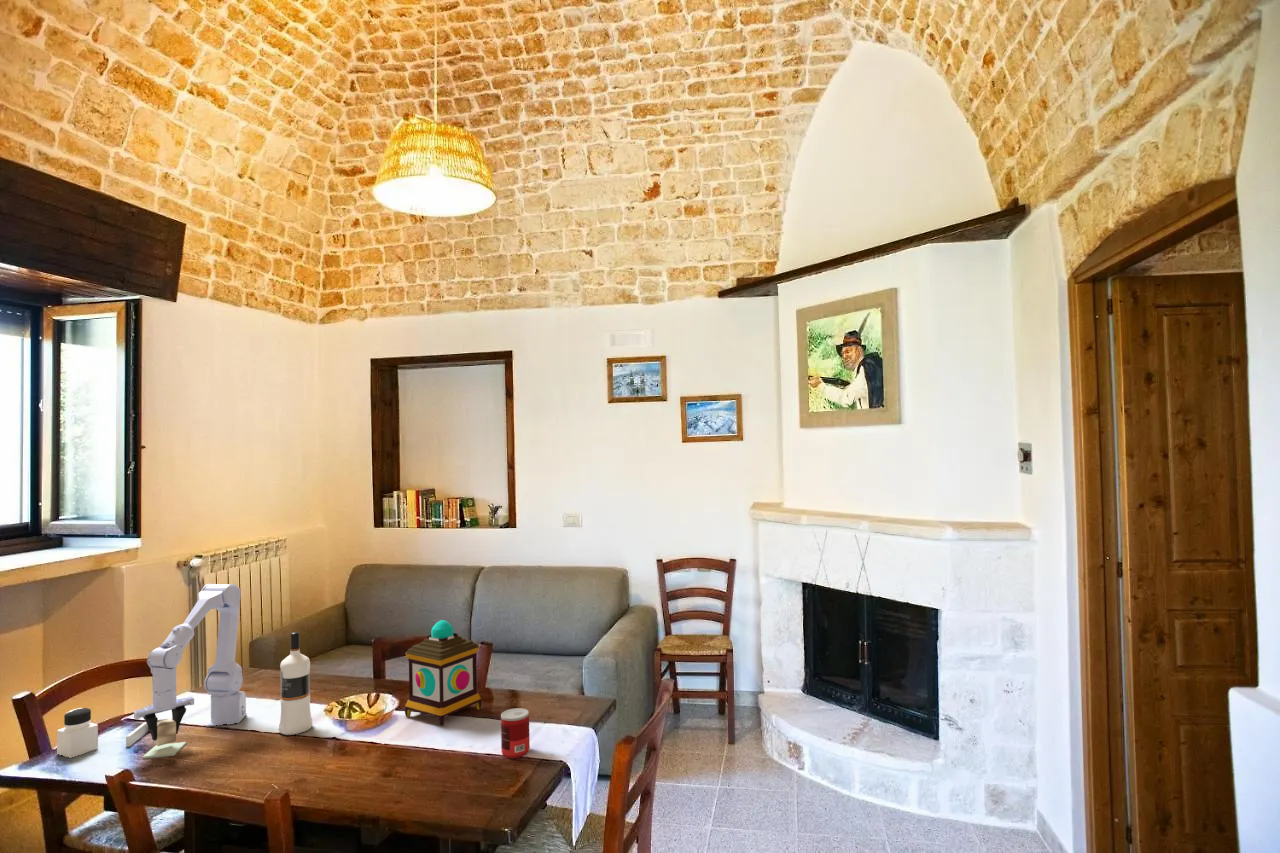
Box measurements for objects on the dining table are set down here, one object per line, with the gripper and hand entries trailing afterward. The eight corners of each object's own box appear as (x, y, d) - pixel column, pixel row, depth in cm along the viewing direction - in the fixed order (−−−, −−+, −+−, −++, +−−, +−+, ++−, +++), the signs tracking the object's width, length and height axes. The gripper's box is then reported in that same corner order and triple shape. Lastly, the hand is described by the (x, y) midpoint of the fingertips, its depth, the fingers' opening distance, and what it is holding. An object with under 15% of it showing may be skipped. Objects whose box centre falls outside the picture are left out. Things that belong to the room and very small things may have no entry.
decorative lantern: (488, 708, 230) (486, 616, 230) (441, 730, 213) (439, 631, 214) (445, 698, 240) (444, 610, 241) (398, 717, 224) (396, 623, 224)
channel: (178, 727, 220) (177, 718, 220) (160, 743, 208) (160, 733, 208) (145, 730, 218) (145, 721, 218) (126, 746, 206) (126, 736, 206)
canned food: (534, 748, 198) (533, 709, 199) (520, 760, 191) (520, 720, 191) (510, 745, 201) (510, 706, 201) (496, 757, 193) (495, 717, 194)
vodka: (311, 732, 213) (310, 634, 214) (277, 738, 210) (276, 637, 210) (313, 722, 222) (311, 627, 223) (280, 727, 218) (279, 630, 219)
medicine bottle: (98, 748, 205) (98, 707, 206) (70, 758, 199) (70, 716, 199) (84, 744, 208) (84, 704, 209) (56, 754, 202) (56, 712, 202)
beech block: (171, 737, 206) (170, 718, 206) (176, 741, 203) (175, 721, 203) (153, 742, 202) (153, 723, 203) (157, 746, 199) (157, 726, 200)
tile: (186, 743, 207) (186, 741, 207) (174, 755, 199) (174, 753, 199) (156, 746, 206) (156, 744, 206) (142, 758, 198) (142, 756, 198)
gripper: (188, 679, 211) (188, 725, 211) (130, 693, 200) (130, 741, 200) (196, 684, 206) (196, 730, 206) (137, 698, 195) (138, 747, 195)
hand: (164, 736), depth 203 cm, fingers closed on beech block, 4 cm apart
